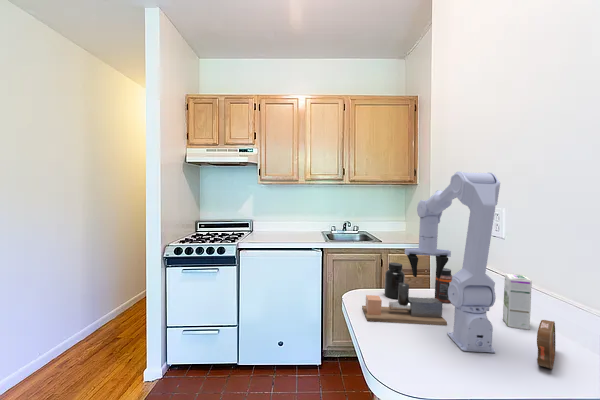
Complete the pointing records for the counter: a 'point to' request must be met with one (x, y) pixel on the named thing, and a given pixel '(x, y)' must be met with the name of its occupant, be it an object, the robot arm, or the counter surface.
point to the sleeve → (425, 307)
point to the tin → (546, 344)
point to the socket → (373, 304)
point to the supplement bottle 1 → (393, 280)
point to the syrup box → (517, 301)
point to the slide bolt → (401, 299)
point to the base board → (401, 317)
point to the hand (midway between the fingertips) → (426, 276)
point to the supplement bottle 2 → (443, 285)
